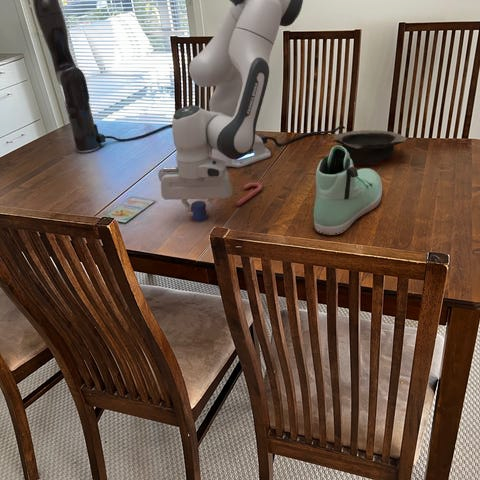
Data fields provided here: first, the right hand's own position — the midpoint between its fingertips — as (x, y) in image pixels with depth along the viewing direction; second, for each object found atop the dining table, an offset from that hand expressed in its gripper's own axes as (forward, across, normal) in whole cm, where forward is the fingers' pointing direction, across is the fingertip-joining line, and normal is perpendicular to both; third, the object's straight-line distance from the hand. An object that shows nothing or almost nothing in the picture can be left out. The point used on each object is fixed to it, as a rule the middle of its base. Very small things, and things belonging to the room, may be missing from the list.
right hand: (199, 211), depth 139 cm
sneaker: (+2, +43, +4) cm, 43 cm away
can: (+2, 0, 0) cm, 2 cm away
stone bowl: (+2, +53, +43) cm, 69 cm away
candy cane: (+2, +13, +14) cm, 19 cm away
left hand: (-30, -91, +53) cm, 109 cm away
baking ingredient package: (+2, -23, +5) cm, 24 cm away
